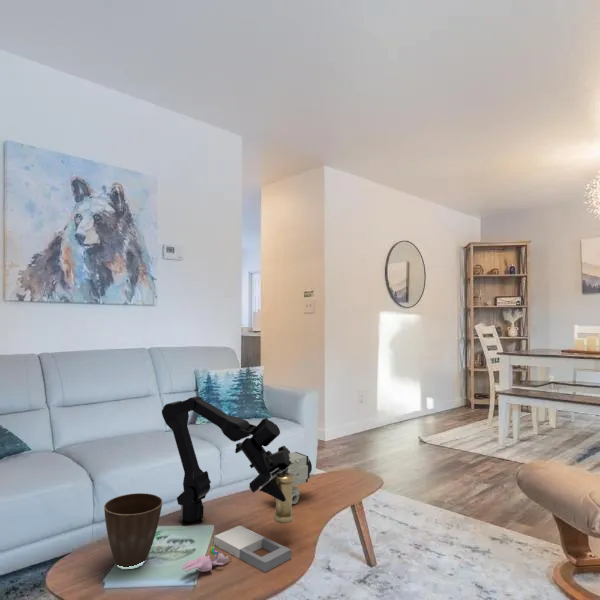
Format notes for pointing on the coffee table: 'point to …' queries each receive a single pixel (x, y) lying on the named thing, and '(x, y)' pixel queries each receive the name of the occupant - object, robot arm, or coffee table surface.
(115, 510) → the plant pot
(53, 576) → the coffee table surface
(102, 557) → the coffee table surface
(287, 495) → the brass fitting
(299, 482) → the ball valve
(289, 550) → the grey holder base
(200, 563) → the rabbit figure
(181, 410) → the robot arm
